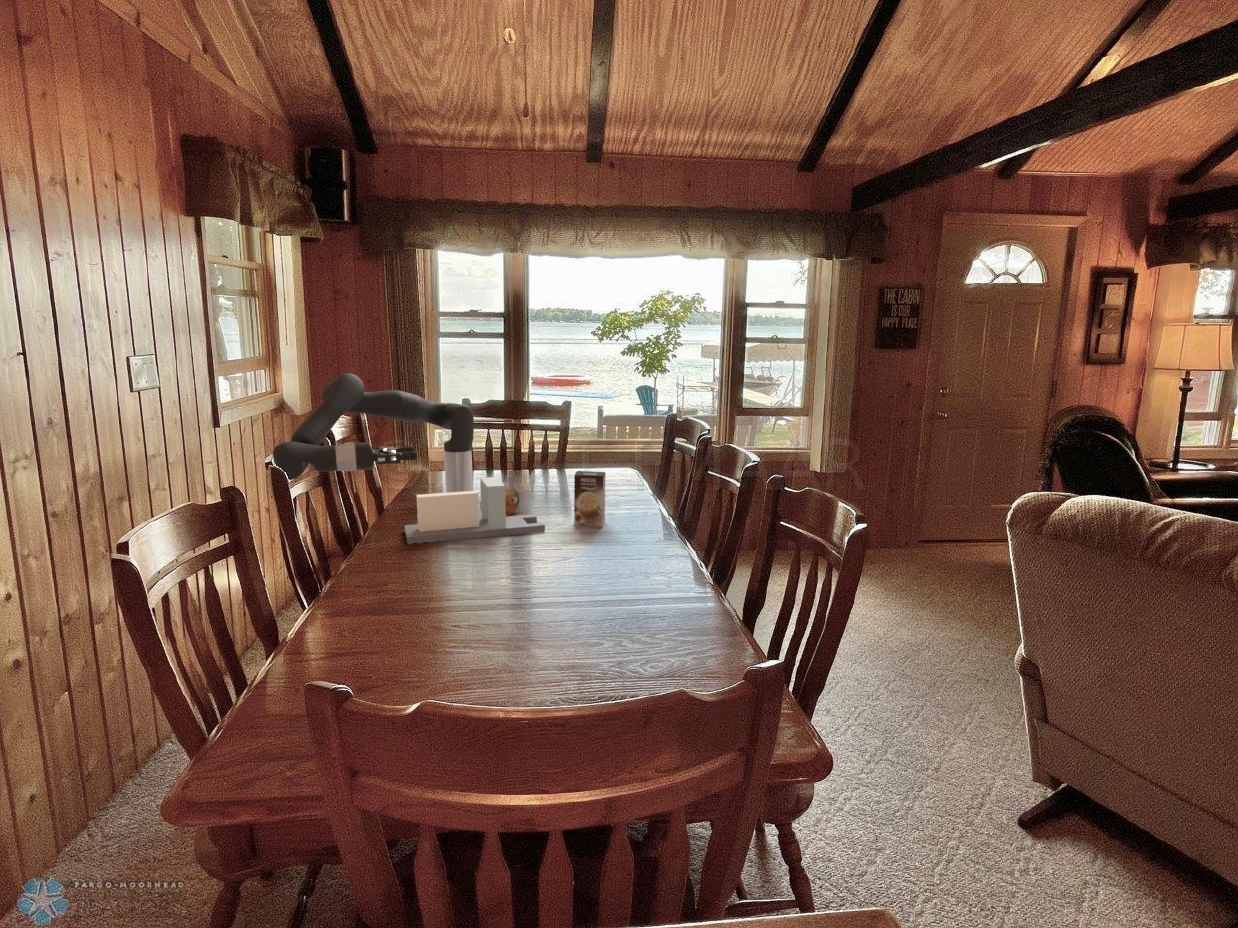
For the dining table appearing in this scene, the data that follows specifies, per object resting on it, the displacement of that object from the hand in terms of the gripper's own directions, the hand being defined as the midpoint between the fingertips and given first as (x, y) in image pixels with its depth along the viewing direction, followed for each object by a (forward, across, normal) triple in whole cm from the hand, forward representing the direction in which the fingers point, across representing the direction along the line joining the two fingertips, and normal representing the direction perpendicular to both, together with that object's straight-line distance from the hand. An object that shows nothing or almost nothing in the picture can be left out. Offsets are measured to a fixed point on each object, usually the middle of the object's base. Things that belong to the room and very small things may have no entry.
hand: (415, 452), depth 204 cm
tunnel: (+21, -1, +23) cm, 31 cm away
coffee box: (+50, -4, +25) cm, 56 cm away
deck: (+16, -1, +25) cm, 29 cm away
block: (+8, -1, +22) cm, 24 cm away
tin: (+26, +15, +25) cm, 39 cm away
